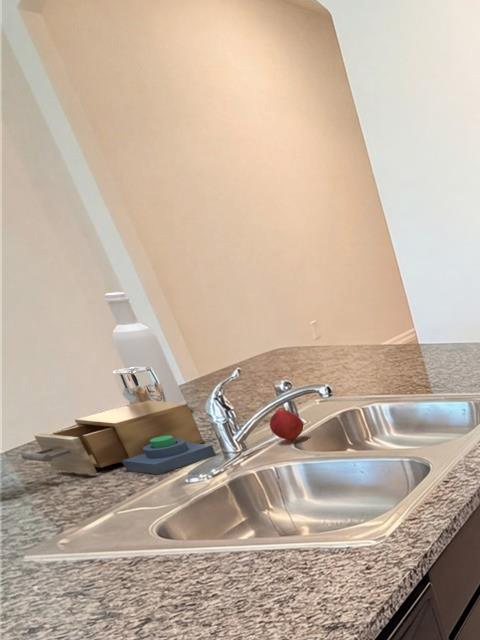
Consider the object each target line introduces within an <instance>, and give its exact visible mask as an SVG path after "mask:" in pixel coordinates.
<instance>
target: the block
mask: <svg viewBox="0 0 480 640" xmlns="http://www.w3.org/2000/svg"><path fill="white" fill-rule="evenodd" d="M174 440H175V442H176V444H174V445H171V446H168V447H163V448H153V447H152V445H151V444H149V445H147V446H145V447H143V450H144V452H145V453H144V454H141V455H138V456H135V457H132V458H129V459H126V460H122V462H123V463H122V464H123V466H124V468H125V470H126V471H127V472H134V473H144V474H151V475H152V474H153V475H161V474H165V473H167V472H171V471H173V470H176V469H180V468H183V467H185V466H187V465H191V464H193V463H196V462H199V461H201V460H205V459H208V458H210V457H213V456H216V452H215V449H214V447H213V445H212V444H204V443H201V444H194V443H186V442H185V440H183V439H174Z"/></svg>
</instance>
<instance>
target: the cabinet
mask: <svg viewBox="0 0 480 640" xmlns="http://www.w3.org/2000/svg"><path fill="white" fill-rule="evenodd" d="M74 421H75V425H76V426H80V425H83V424H91V425H102V426H112V427H115V429H116V432H117V434H118V436H119V438H120V440H121V442H122V444H123V446H124V448H125V450H126V452H127V454H128V456H129V458H132V457H135V456H138V455H141V454H144V453H145V452H144V450H143V447H145V446H147V445H149V444H151V443H150V440H151V439H153V438H156V437H161V436H173V438H174V439H183V440H185V442H186V443H194V444H204V443H205V441H204V439H203V437H202V434H201V432H200V430H199V428H198V425H197V422H196V420H195V419H194V416H193V413H192V411H191V409H190V407H189V404H188V403H187V404H185V403H173V402H160V401H144V402H141V403H137V404H133V405H129V404H128V405H125V406H122V407H121V406H120V407H117V408H113V409H110V410H106V411H102V412H98V413H94V414H90V415H85V416H83V417H79V418H74ZM117 464H123V462H122V461H121V462H118V463H117Z"/></svg>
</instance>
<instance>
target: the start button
mask: <svg viewBox="0 0 480 640" xmlns="http://www.w3.org/2000/svg"><path fill="white" fill-rule="evenodd" d="M150 443H151V445H152V447H153V448H163V447H168V446H171V445H174V444H176V442H175V440H174V438H173V436H161V437H156V438H153V439H151V440H150Z"/></svg>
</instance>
